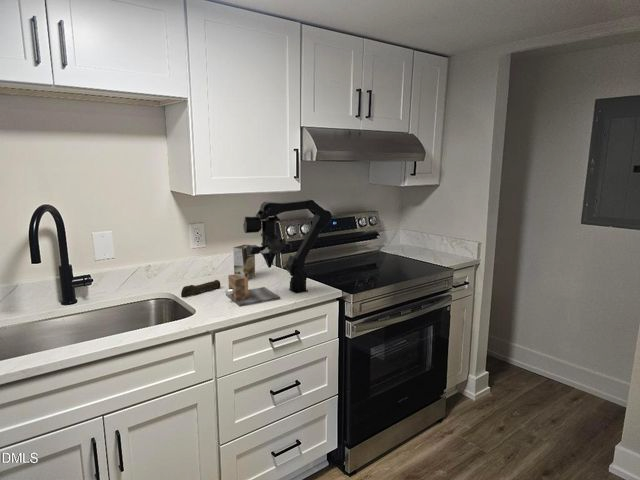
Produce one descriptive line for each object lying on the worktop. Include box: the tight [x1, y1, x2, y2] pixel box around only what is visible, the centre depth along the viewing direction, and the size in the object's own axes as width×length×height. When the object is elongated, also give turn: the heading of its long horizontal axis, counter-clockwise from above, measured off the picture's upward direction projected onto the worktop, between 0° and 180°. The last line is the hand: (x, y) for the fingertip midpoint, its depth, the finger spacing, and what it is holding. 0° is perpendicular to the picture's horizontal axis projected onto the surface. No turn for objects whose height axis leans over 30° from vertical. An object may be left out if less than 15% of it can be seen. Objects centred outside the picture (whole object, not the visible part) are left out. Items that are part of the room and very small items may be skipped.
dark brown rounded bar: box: [180, 279, 221, 298], centre depth 187 cm, size 19×4×5 cm, turn 137°
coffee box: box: [233, 244, 256, 280], centre depth 208 cm, size 9×6×16 cm
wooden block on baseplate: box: [225, 273, 281, 308], centre depth 180 cm, size 18×16×10 cm
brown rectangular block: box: [225, 276, 249, 297], centre depth 176 cm, size 9×5×8 cm, turn 121°
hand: (269, 267), depth 183 cm, fingers closed
